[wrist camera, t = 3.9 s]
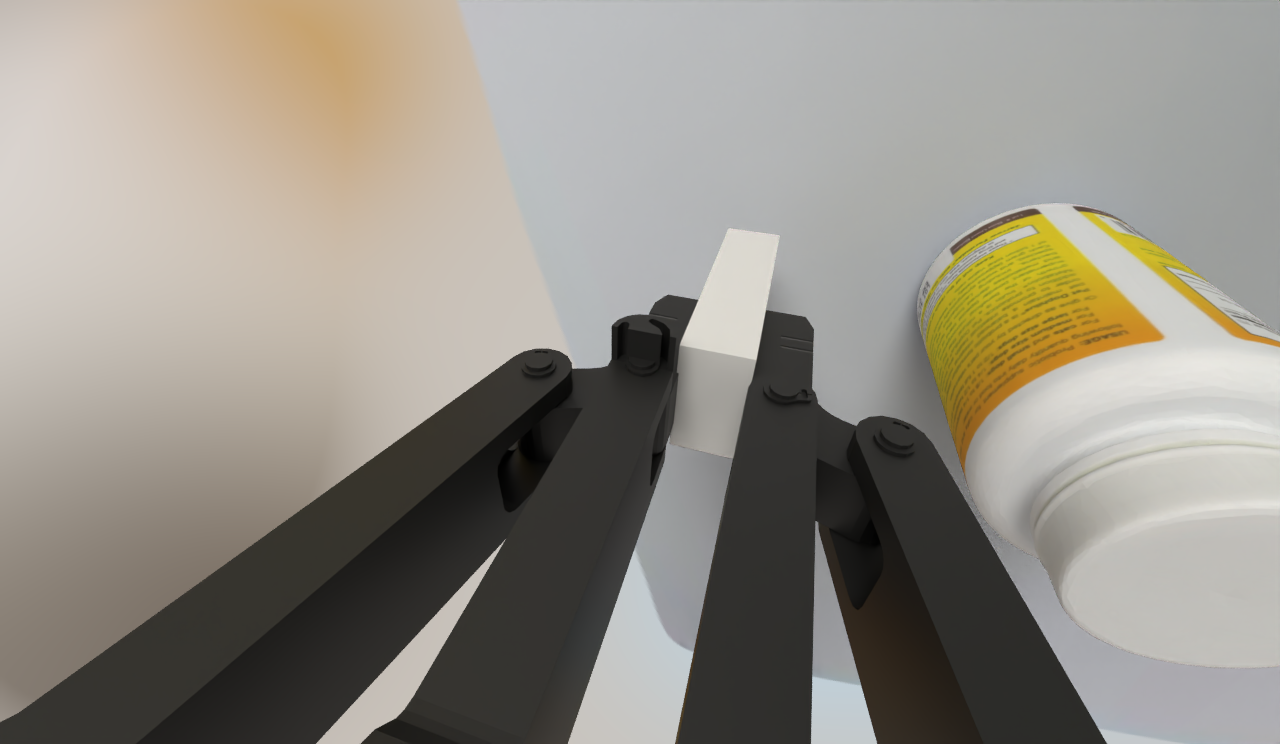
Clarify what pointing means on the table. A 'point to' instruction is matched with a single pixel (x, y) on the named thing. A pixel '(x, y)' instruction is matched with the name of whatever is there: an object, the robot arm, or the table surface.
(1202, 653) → the supplement bottle
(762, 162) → the table surface
